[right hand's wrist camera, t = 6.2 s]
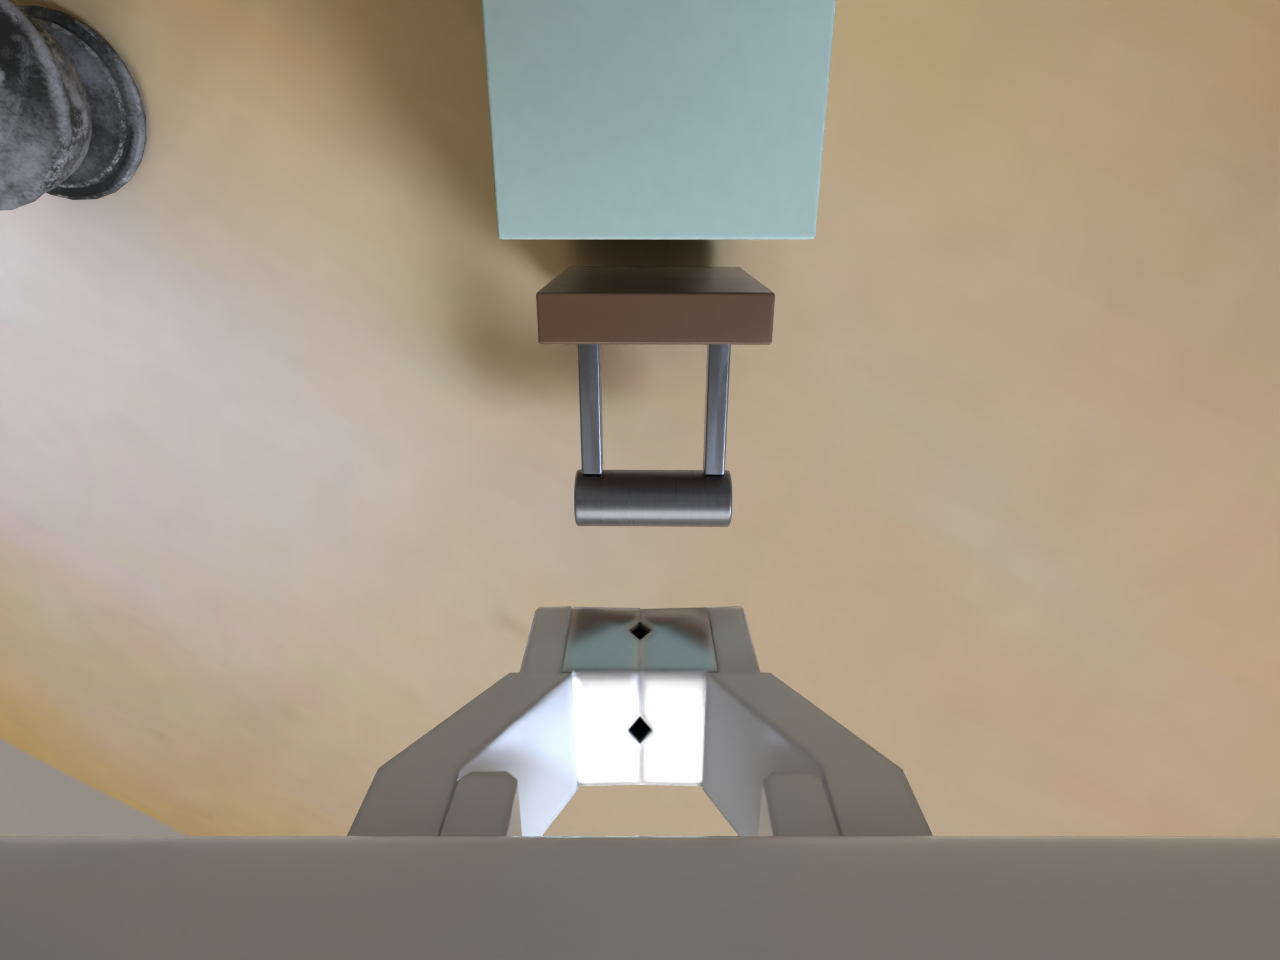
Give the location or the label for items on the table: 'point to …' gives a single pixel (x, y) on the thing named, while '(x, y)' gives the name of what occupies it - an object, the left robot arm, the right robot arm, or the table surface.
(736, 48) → the cabinet
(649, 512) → the drawer
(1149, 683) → the table surface
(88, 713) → the table surface
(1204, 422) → the table surface
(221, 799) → the table surface
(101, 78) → the salt shaker
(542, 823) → the right robot arm
